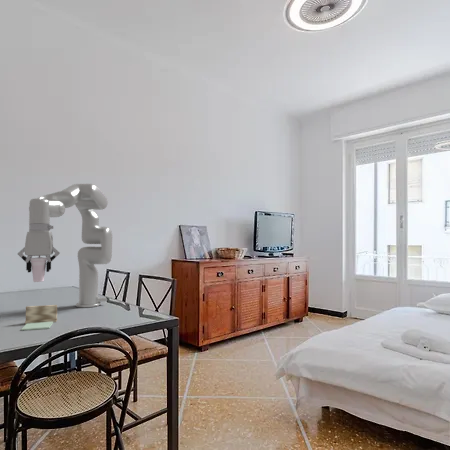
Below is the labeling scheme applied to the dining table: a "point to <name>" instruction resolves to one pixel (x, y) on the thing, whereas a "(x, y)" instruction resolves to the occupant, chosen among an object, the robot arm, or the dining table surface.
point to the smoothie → (38, 268)
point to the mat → (37, 326)
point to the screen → (41, 314)
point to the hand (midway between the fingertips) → (38, 271)
